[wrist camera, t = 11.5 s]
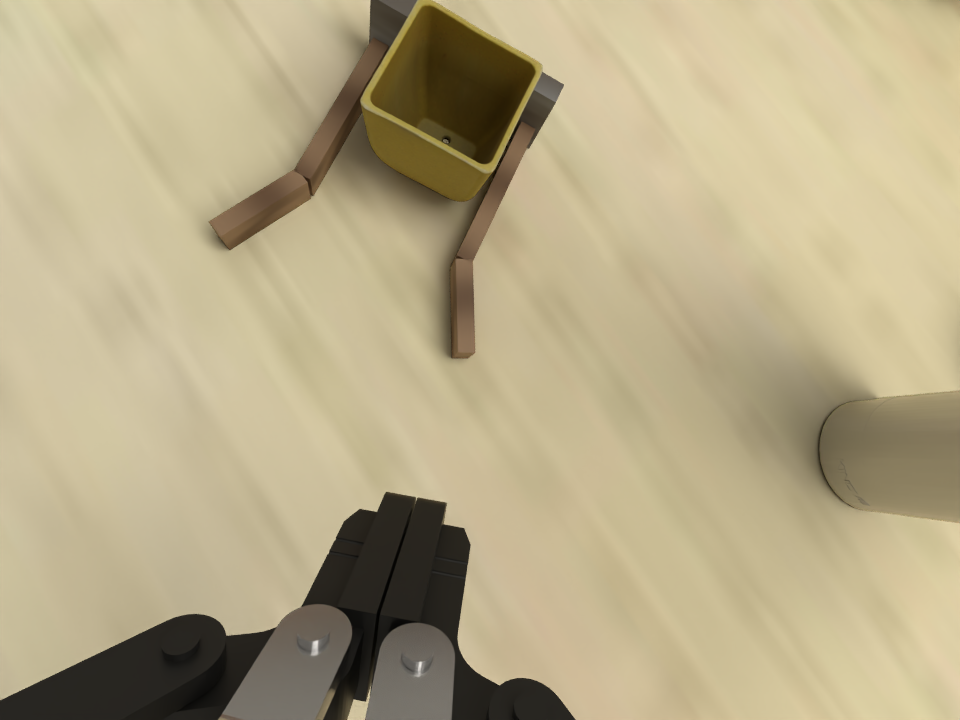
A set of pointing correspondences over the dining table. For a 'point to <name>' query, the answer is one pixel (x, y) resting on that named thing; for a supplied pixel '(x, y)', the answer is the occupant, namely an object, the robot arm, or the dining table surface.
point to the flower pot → (446, 101)
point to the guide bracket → (295, 187)
